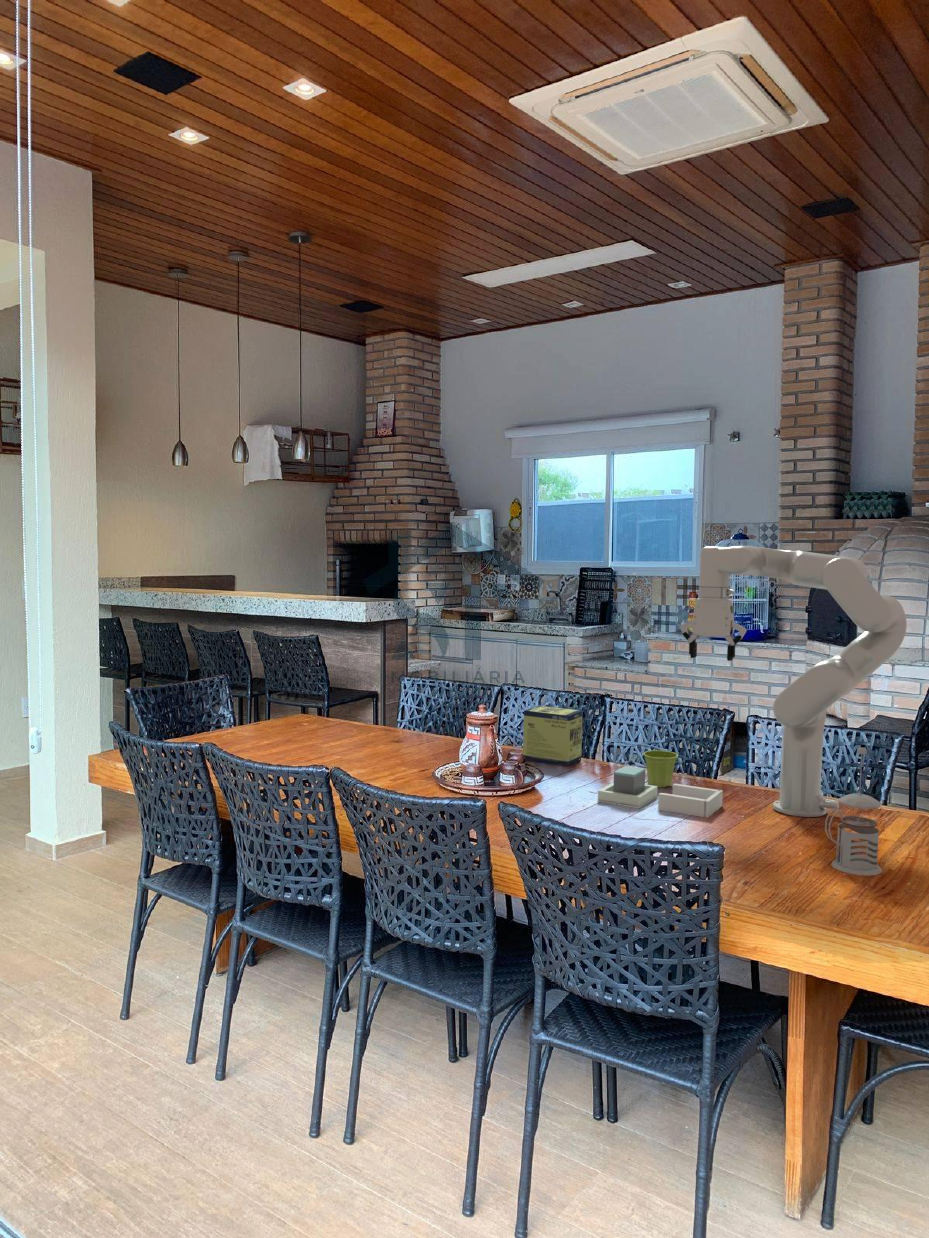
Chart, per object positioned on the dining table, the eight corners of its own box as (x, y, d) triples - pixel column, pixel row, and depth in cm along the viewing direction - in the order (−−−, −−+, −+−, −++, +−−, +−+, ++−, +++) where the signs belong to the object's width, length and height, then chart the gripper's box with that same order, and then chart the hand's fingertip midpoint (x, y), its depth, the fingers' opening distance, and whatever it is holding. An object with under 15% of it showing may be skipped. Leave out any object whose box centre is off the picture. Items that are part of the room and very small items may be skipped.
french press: (892, 875, 188) (898, 752, 186) (836, 875, 187) (842, 752, 185) (867, 858, 197) (872, 742, 196) (814, 859, 197) (819, 742, 195)
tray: (657, 796, 245) (657, 786, 245) (639, 808, 234) (639, 797, 234) (616, 790, 251) (617, 780, 251) (597, 801, 240) (598, 790, 239)
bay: (722, 805, 237) (722, 790, 237) (707, 817, 226) (708, 801, 226) (674, 798, 243) (674, 783, 243) (658, 809, 233) (658, 793, 232)
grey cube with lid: (644, 795, 244) (645, 768, 244) (633, 801, 237) (634, 774, 237) (624, 791, 247) (625, 765, 246) (613, 798, 240) (613, 771, 240)
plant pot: (677, 790, 252) (678, 758, 251) (642, 788, 254) (643, 756, 253) (676, 781, 261) (677, 751, 261) (642, 779, 263) (643, 749, 262)
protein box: (568, 766, 278) (569, 715, 277) (521, 760, 286) (522, 709, 284) (582, 760, 287) (583, 710, 286) (536, 753, 295) (537, 705, 293)
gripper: (751, 594, 243) (748, 660, 244) (685, 592, 251) (683, 655, 253) (743, 595, 236) (741, 662, 237) (677, 593, 245) (674, 657, 246)
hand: (711, 658), depth 245 cm, fingers open, 9 cm apart
